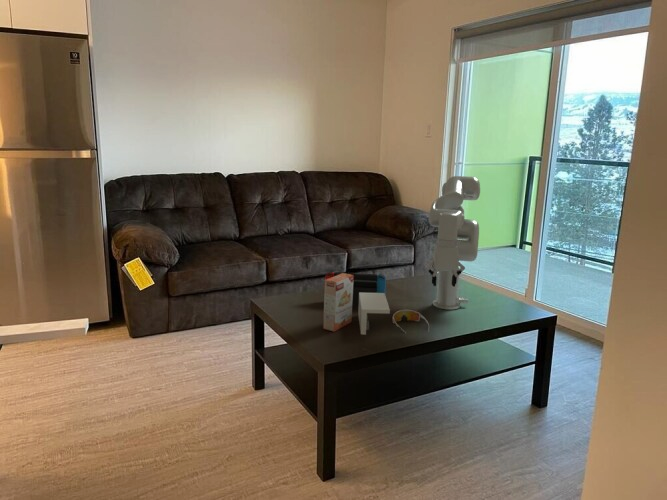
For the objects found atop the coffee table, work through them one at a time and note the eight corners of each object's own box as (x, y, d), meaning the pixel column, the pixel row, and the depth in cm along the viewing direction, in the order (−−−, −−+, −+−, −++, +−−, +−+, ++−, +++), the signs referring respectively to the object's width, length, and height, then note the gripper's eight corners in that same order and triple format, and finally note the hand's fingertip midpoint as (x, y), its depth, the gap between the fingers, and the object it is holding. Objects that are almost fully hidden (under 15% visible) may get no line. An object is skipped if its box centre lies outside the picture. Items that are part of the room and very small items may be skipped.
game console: (384, 303, 248) (386, 273, 244) (384, 307, 241) (385, 277, 238) (325, 300, 250) (326, 270, 247) (323, 304, 244) (324, 274, 241)
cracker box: (335, 332, 210) (336, 282, 206) (322, 329, 213) (323, 279, 209) (352, 322, 222) (354, 274, 217) (340, 319, 225) (341, 272, 220)
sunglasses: (418, 318, 229) (419, 308, 227) (432, 336, 215) (434, 325, 213) (387, 321, 225) (388, 310, 223) (400, 339, 212) (402, 328, 210)
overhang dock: (383, 315, 230) (384, 293, 228) (388, 335, 209) (389, 309, 207) (358, 315, 230) (359, 292, 228) (360, 334, 209) (361, 309, 207)
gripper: (466, 241, 216) (462, 283, 220) (423, 240, 216) (421, 282, 220) (470, 245, 208) (467, 288, 212) (426, 244, 208) (424, 287, 212)
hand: (443, 285), depth 216 cm, fingers open, 7 cm apart
